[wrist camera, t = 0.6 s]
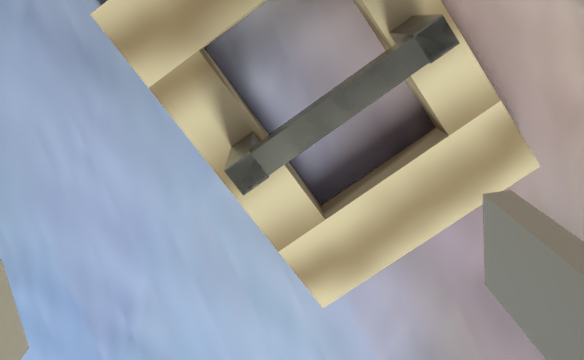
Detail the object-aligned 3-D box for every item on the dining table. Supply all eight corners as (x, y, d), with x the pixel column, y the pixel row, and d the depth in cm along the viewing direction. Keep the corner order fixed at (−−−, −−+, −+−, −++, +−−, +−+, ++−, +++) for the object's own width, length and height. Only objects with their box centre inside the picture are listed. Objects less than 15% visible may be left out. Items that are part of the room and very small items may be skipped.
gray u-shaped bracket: (234, 137, 39) (223, 170, 30) (401, 15, 37) (442, 14, 28) (249, 157, 39) (243, 195, 30) (415, 38, 37) (459, 43, 29)
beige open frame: (104, 14, 36) (90, 14, 33) (327, -163, 34) (333, -180, 31) (319, 288, 42) (322, 308, 39) (520, 155, 40) (540, 166, 37)
